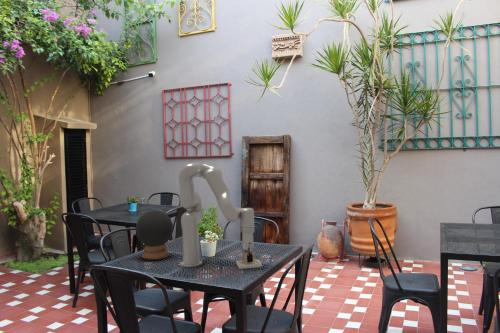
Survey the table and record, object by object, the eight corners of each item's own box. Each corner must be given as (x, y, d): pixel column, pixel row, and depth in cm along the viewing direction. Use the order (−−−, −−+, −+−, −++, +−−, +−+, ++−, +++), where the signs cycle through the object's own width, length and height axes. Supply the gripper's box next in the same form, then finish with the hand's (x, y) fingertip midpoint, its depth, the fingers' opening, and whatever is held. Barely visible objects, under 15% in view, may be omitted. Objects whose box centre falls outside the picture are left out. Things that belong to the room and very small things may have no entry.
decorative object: (158, 263, 267) (156, 213, 265) (128, 259, 277) (127, 212, 276) (181, 254, 287) (179, 208, 286) (153, 251, 298) (151, 207, 297)
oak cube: (242, 260, 258) (242, 250, 257) (253, 259, 259) (252, 249, 259) (244, 263, 252) (244, 252, 252) (255, 262, 253) (254, 251, 253)
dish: (236, 264, 259) (236, 261, 259) (258, 262, 262) (257, 259, 261) (239, 268, 249) (239, 265, 249) (261, 267, 252) (261, 263, 252)
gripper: (238, 227, 262) (239, 257, 263) (244, 232, 245) (245, 265, 246) (251, 226, 264) (252, 256, 264) (257, 231, 247) (258, 263, 248)
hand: (248, 260), depth 255 cm, fingers closed on oak cube, 6 cm apart
